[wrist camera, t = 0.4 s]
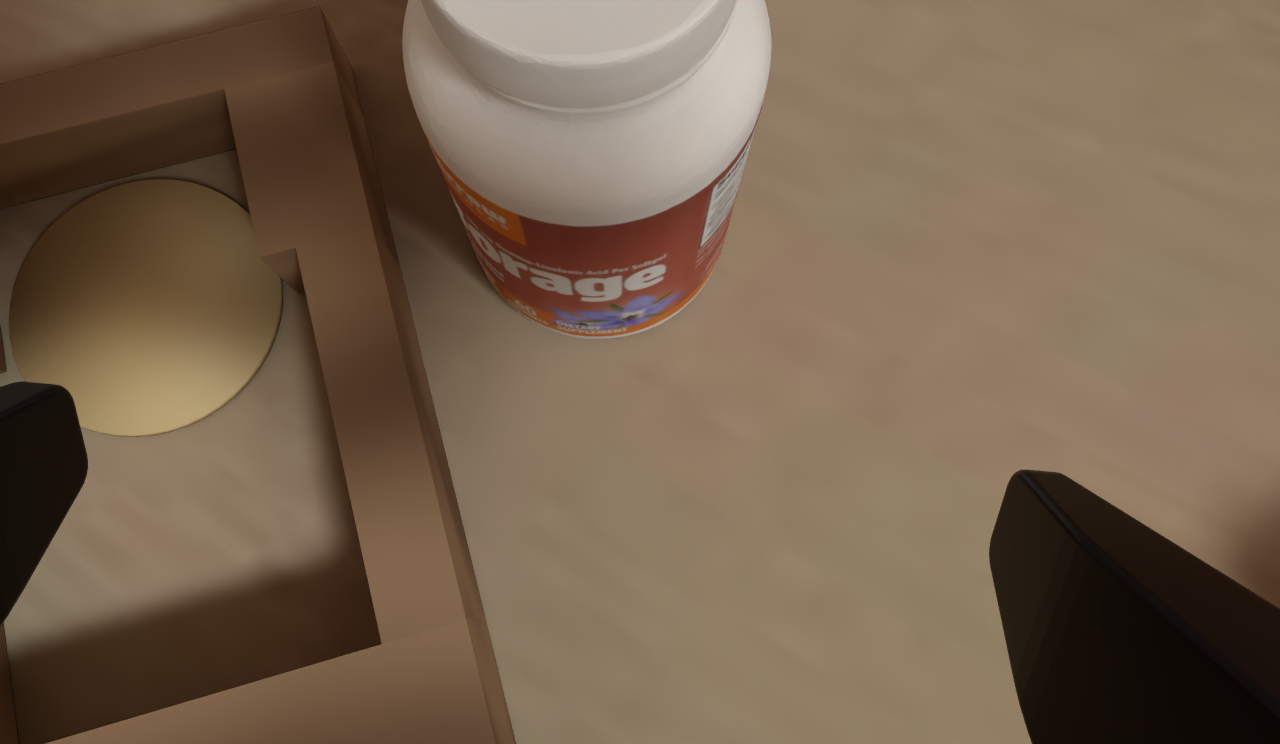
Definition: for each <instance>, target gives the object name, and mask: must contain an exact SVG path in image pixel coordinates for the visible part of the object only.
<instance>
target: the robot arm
mask: <svg viewBox="0 0 1280 744" xmlns="http://www.w3.org/2000/svg"><path fill="white" fill-rule="evenodd" d="M87 470H88V458H87V453H86V449H85V444H84V440H83V436H82V432H81V428H80V423H79V419H78V415H77V411H76V407H75V403H74V400H73V397H72V395H71V394H70V392H69V391H68V390H67V389H65V388H64V387H62V386H60V385H55V384H45V383H34V382H16V383H12V384H8V385H5V386H2V387H0V626H1V625H2V623H3V622H4V620H5V619H6V617H7V616H8V615H9V613H10V611H11V610H12V608H13V606H14V605H15V603H16V601H17V600H18V598H19V596H20V595H21V593H22V592H23V590H24V588H25V586H26V585H27V583H28V581H29V579H30V578H31V576H32V574H33V572H34V571H35V569H36V567H37V565H38V564H39V562H40V560H41V558H42V556H43V555H44V553H45V551H46V549H47V548H48V546H49V544H50V542H51V541H52V539H53V537H54V535H55V534H56V532H57V530H58V528H59V527H60V525H61V523H62V521H63V520H64V518H65V516H66V514H67V513H68V511H69V509H70V507H71V506H72V504H73V502H74V500H75V499H76V497H77V495H78V493H79V492H80V490H81V488H82V486H83V484H84V482H85V479H86V475H87ZM989 559H990V567H991V572H992V577H993V582H994V586H995V591H996V596H997V601H998V606H999V611H1000V616H1001V620H1002V625H1003V630H1004V635H1005V640H1006V645H1007V650H1008V654H1009V659H1010V664H1011V669H1012V674H1013V679H1014V683H1015V687H1016V692H1017V696H1018V700H1019V704H1020V707H1021V711H1022V714H1023V717H1024V721H1025V724H1026V727H1027V730H1028V733H1029V736H1030V739H1031V742H1032V744H1280V609H1279V608H1278V607H1276V606H1275V605H1273V604H1271V603H1270V602H1268V601H1267V600H1265V599H1263V598H1262V597H1260V596H1258V595H1257V594H1255V593H1254V592H1252V591H1250V590H1249V589H1247V588H1246V587H1244V586H1242V585H1241V584H1239V583H1238V582H1236V581H1234V580H1233V579H1231V578H1229V577H1228V576H1226V575H1225V574H1223V573H1221V572H1220V571H1218V570H1217V569H1215V568H1213V567H1212V566H1210V565H1209V564H1207V563H1205V562H1204V561H1202V560H1200V559H1199V558H1197V557H1196V556H1194V555H1192V554H1191V553H1189V552H1188V551H1186V550H1184V549H1183V548H1181V547H1180V546H1178V545H1176V544H1175V543H1173V542H1171V541H1170V540H1168V539H1167V538H1165V537H1163V536H1162V535H1160V534H1159V533H1157V532H1155V531H1154V530H1152V529H1151V528H1149V527H1147V526H1146V525H1144V524H1142V523H1141V522H1139V521H1138V520H1136V519H1134V518H1133V517H1131V516H1130V515H1128V514H1126V513H1125V512H1123V511H1122V510H1120V509H1118V508H1117V507H1115V506H1113V505H1112V504H1110V503H1109V502H1107V501H1105V500H1104V499H1102V498H1101V497H1099V496H1097V495H1096V494H1094V493H1093V492H1091V491H1089V490H1088V489H1086V488H1084V487H1083V486H1081V485H1080V484H1078V483H1076V482H1075V481H1073V480H1072V479H1070V478H1068V477H1067V476H1065V475H1063V474H1061V473H1056V472H1047V471H1036V470H1019V471H1017V472H1016V473H1014V474H1013V476H1012V477H1011V479H1010V481H1009V483H1008V485H1007V488H1006V492H1005V495H1004V498H1003V501H1002V505H1001V508H1000V511H999V514H998V517H997V521H996V524H995V527H994V530H993V534H992V537H991V541H990V548H989Z"/></svg>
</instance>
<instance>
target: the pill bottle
mask: <svg viewBox="0 0 1280 744" xmlns="http://www.w3.org/2000/svg"><path fill="white" fill-rule="evenodd" d="M402 46H403V63H404V69H405V75H406V81H407V86H408V90H409V93H410V96H411V99H412V102H413V106H414V108H415V111H416V115H417V117H418V119H419V122H420V124H421V126H422V129H423V131H424V133H425V136H426V138H427V140H428V143H429V145H430V147H431V150H432V152H433V154H434V157H435V159H436V161H437V163H438V165H439V167H440V170H441V172H442V175H443V177H444V180H445V183H446V185H447V187H448V189H449V191H450V194H451V196H452V199H453V201H454V203H455V206H456V210H457V211H458V213H459V215H460V217H461V220H462V222H463V225H464V227H465V229H466V232H467V234H468V236H469V239H470V242H471V244H472V247H473V249H474V251H475V253H476V256H477V258H478V260H479V262H480V264H481V266H482V268H483V270H484V272H485V274H486V276H487V278H488V279H489V281H490V282H491V284H492V285H493V287H494V288H495V289H496V291H497V292H498V293H499V294H500V296H501V297H502V298H503V299H504V300H505V301H506V302H507V303H508V304H509V305H510V306H511V307H512V308H513V309H515V310H516V311H517V312H518V313H519V314H521V315H522V316H524V317H525V318H527V319H528V320H530V321H532V322H533V323H535V324H537V325H539V326H541V327H543V328H546V329H548V330H551V331H553V332H556V333H559V334H563V335H566V336H571V337H576V338H586V339H608V338H616V337H623V336H629V335H632V334H636V333H640V332H643V331H645V330H648V329H650V328H653V327H655V326H657V325H659V324H661V323H663V322H665V321H666V320H668V319H670V318H671V317H673V316H674V315H676V314H677V313H678V312H679V311H681V310H682V309H683V308H684V307H685V306H686V305H688V304H689V303H690V302H691V301H692V300H693V299H694V298H695V296H696V295H697V294H698V293H699V292H700V290H701V289H702V288H703V286H704V285H705V283H706V282H707V280H708V279H709V277H710V275H711V273H712V271H713V269H714V267H715V265H716V263H717V260H718V258H719V256H720V253H721V250H722V246H723V243H724V239H725V236H726V232H727V229H728V225H729V221H730V217H731V214H732V210H733V207H734V203H735V200H736V197H737V194H738V189H739V186H740V181H741V178H742V174H743V170H744V166H745V163H746V159H747V156H748V152H749V148H750V145H751V142H752V138H753V134H754V131H755V128H756V124H757V121H758V118H759V115H760V111H761V108H762V103H763V98H764V94H765V90H766V87H767V82H768V76H769V70H770V61H771V32H770V25H769V18H768V12H767V8H766V3H765V0H408V4H407V8H406V12H405V18H404V24H403V38H402Z"/></svg>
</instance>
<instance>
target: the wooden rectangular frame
mask: <svg viewBox="0 0 1280 744" xmlns="http://www.w3.org/2000/svg"><path fill="white" fill-rule="evenodd" d="M233 149H237V153H238V158H239V163H240V168H241V173H242V177H243V182H244V187H245V192H246V197H247V202H248V206H249V211H250V215H249V214H248V213H247V212H246V211H245V210H244V209H243V208H242V207H240V206H239V205H238V204H237V203H236V202H234V201H232V200H231V199H229V198H228V197H226V196H225V195H223V194H221V193H219V192H217V191H215V190H212V189H210V188H208V187H205V186H202V185H198V184H195V183H191V182H186V181H180V180H169V179H153V180H141V181H136V182H130V183H125V184H122V185H119V186H115V187H112V188H109V189H106V190H104V191H102V192H100V193H97V194H95V195H93V196H91V197H89V198H87V199H86V200H84V201H82V202H81V203H79V204H77V205H76V206H74V207H73V208H72V209H70V210H69V211H68V212H66V213H65V214H64V215H62V216H61V217H60V218H59V219H58V220H57V221H56V222H55V223H54V224H53V225H51V226H50V227H49V228H48V229H47V231H46V232H45V233H44V234H43V235H42V237H41V238H40V239H39V240H38V241H37V243H36V244H35V246H34V247H33V249H32V250H31V252H30V253H29V255H28V256H27V258H26V260H25V262H24V264H23V266H22V268H21V270H20V272H19V275H18V278H17V281H16V284H15V286H14V290H13V295H12V299H11V304H10V315H9V329H10V340H11V345H12V350H13V354H14V357H15V360H16V362H17V365H18V368H19V370H20V372H21V374H22V376H23V377H24V379H25V381H26V382H34V383H45V384H55V385H60V386H62V387H64V388H65V389H67V390H68V391H69V392H70V394H71V395H72V397H73V400H74V403H75V407H76V411H77V415H78V419H79V423H80V426H81V427H84V428H87V429H90V430H93V431H96V432H99V433H104V434H110V435H115V436H131V437H138V436H150V435H157V434H162V433H167V432H172V431H175V430H178V429H180V428H183V427H186V426H189V425H191V424H194V423H196V422H198V421H200V420H202V419H204V418H206V417H208V416H209V415H211V414H212V413H214V412H216V411H217V410H219V409H220V408H222V407H223V406H224V405H226V404H227V403H228V402H229V401H231V400H232V399H233V398H234V397H235V396H237V395H238V394H239V393H240V391H241V390H242V389H243V388H244V387H245V386H246V385H247V384H248V383H249V382H250V381H251V380H252V378H253V377H254V376H255V374H256V373H257V372H258V370H259V369H260V368H261V366H262V364H263V362H264V361H265V359H266V357H267V356H268V354H269V352H270V350H271V347H272V345H273V343H274V340H275V338H276V335H277V331H278V328H279V324H280V321H281V315H282V307H283V282H282V279H283V280H284V281H285V282H286V283H287V284H289V285H290V286H291V287H292V288H293V289H294V290H295V291H296V292H297V293H298V294H300V293H304V292H305V293H306V298H307V303H308V307H309V312H310V316H311V321H312V326H313V330H314V335H315V339H316V344H317V349H318V353H319V358H320V362H321V367H322V372H323V376H324V381H325V385H326V390H327V395H328V399H329V404H330V408H331V413H332V418H333V422H334V427H335V432H336V436H337V441H338V445H339V450H340V455H341V459H342V464H343V468H344V473H345V478H346V482H347V487H348V491H349V496H350V501H351V505H352V510H353V514H354V519H355V524H356V528H357V533H358V537H359V542H360V547H361V551H362V556H363V560H364V565H365V570H366V574H367V579H368V583H369V588H370V593H371V597H372V602H373V607H374V611H375V616H376V620H377V625H378V630H379V634H380V639H381V643H382V644H381V645H377V646H374V647H370V648H367V649H364V650H360V651H357V652H353V653H350V654H347V655H343V656H340V657H337V658H333V659H330V660H326V661H323V662H320V663H316V664H313V665H309V666H306V667H303V668H299V669H296V670H293V671H289V672H286V673H282V674H279V675H276V676H272V677H269V678H265V679H262V680H259V681H255V682H252V683H249V684H245V685H242V686H238V687H235V688H232V689H228V690H225V691H221V692H218V693H215V694H211V695H208V696H204V697H201V698H198V699H194V700H191V701H188V702H184V703H181V704H177V705H174V706H171V707H167V708H164V709H160V710H157V711H154V712H150V713H147V714H144V715H140V716H137V717H133V718H130V719H127V720H123V721H120V722H116V723H113V724H110V725H106V726H103V727H100V728H96V729H93V730H89V731H86V732H83V733H79V734H76V735H72V736H69V737H66V738H62V739H59V740H55V741H52V742H49V743H45V744H516V742H515V738H514V734H513V729H512V725H511V721H510V717H509V713H508V709H507V705H506V701H505V697H504V692H503V688H502V684H501V680H500V676H499V672H498V668H497V664H496V660H495V655H494V651H493V647H492V643H491V639H490V635H489V631H488V627H487V623H486V618H485V614H484V610H483V606H482V602H481V598H480V594H479V590H478V586H477V581H476V577H475V573H474V569H473V565H472V561H471V557H470V553H469V549H468V544H467V540H466V536H465V532H464V528H463V524H462V520H461V516H460V512H459V507H458V503H457V499H456V495H455V491H454V487H453V483H452V479H451V475H450V470H449V466H448V462H447V458H446V454H445V450H444V446H443V442H442V438H441V433H440V429H439V425H438V421H437V417H436V413H435V409H434V405H433V401H432V396H431V392H430V388H429V384H428V380H427V376H426V372H425V368H424V364H423V359H422V355H421V351H420V347H419V343H418V339H417V335H416V331H415V327H414V322H413V318H412V314H411V310H410V306H409V302H408V298H407V294H406V290H405V285H404V281H403V277H402V273H401V269H400V265H399V261H398V257H397V253H396V248H395V244H394V240H393V236H392V232H391V228H390V224H389V220H388V216H387V211H386V207H385V203H384V199H383V195H382V191H381V187H380V183H379V179H378V174H377V170H376V166H375V162H374V158H373V154H372V150H371V146H370V142H369V137H368V133H367V129H366V125H365V121H364V117H363V113H362V109H361V105H360V100H359V96H358V92H357V88H356V84H355V80H354V76H353V72H352V68H351V65H350V63H349V61H348V59H347V57H346V55H345V53H344V51H343V49H342V47H341V46H340V44H339V42H338V40H337V38H336V36H335V34H334V32H333V30H332V28H331V27H330V25H329V23H328V21H327V19H326V17H325V15H324V13H323V11H322V9H321V8H320V6H318V7H314V8H310V9H306V10H302V11H297V12H293V13H289V14H285V15H281V16H277V17H273V18H269V19H265V20H260V21H256V22H252V23H248V24H244V25H240V26H236V27H232V28H228V29H224V30H219V31H215V32H211V33H207V34H203V35H199V36H195V37H191V38H187V39H182V40H178V41H174V42H170V43H166V44H162V45H158V46H154V47H150V48H146V49H141V50H137V51H133V52H129V53H125V54H121V55H117V56H113V57H109V58H104V59H100V60H96V61H92V62H88V63H84V64H80V65H76V66H72V67H68V68H63V69H59V70H55V71H51V72H47V73H43V74H39V75H35V76H31V77H26V78H22V79H18V80H14V81H10V82H6V83H2V84H0V208H4V207H8V206H12V205H16V204H20V203H24V202H28V201H32V200H36V199H39V198H43V197H47V196H51V195H55V194H59V193H63V192H67V191H71V190H75V189H79V188H83V187H87V186H91V185H95V184H99V183H103V182H107V181H111V180H115V179H118V178H122V177H126V176H130V175H134V174H138V173H142V172H146V171H150V170H154V169H158V168H162V167H166V166H170V165H174V164H178V163H182V162H186V161H190V160H194V159H197V158H201V157H205V156H209V155H213V154H217V153H221V152H225V151H229V150H233ZM3 372H7V371H6V364H5V357H4V349H3V342H2V335H1V328H0V373H3ZM0 744H19V742H18V734H17V726H16V719H15V711H14V703H13V695H12V687H11V680H10V672H9V664H8V656H7V648H6V640H5V633H4V625H3V623H2V625H1V626H0Z"/></svg>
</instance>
